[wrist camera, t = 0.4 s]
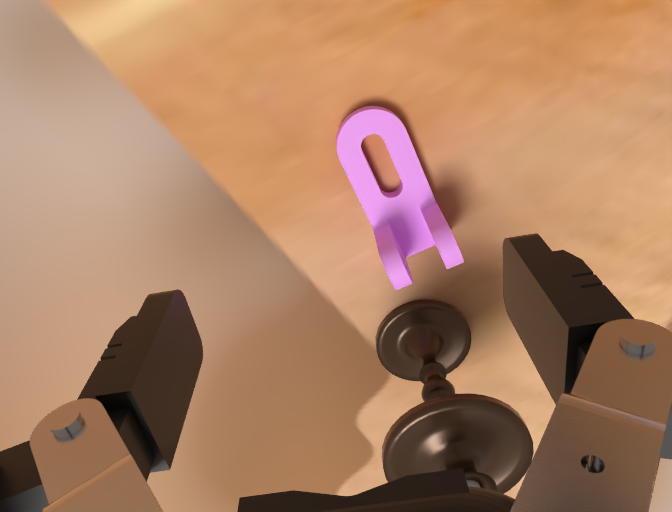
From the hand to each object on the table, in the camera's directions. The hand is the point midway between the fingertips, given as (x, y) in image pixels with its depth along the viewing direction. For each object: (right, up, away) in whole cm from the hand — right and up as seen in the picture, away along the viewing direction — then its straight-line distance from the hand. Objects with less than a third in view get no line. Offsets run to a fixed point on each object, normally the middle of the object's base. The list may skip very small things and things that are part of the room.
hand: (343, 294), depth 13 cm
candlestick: (+8, -7, +37) cm, 39 cm away
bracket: (+4, +7, +30) cm, 31 cm away
